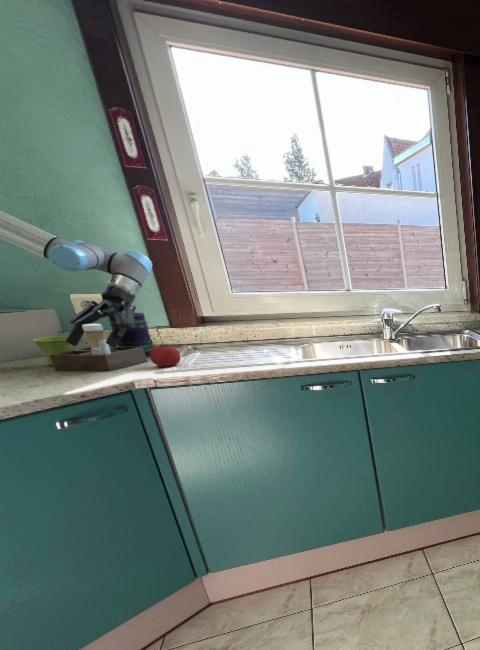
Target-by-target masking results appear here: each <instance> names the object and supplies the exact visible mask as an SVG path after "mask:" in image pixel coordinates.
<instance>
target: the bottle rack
mask: <svg viewBox="0 0 480 650" xmlns="http://www.w3.org/2000/svg"><path fill="white" fill-rule="evenodd" d="M108 346H109V349H110V352H111V353H110V354H105V355H93V354H92V351H91V348H90V346H87V347H81V348H76V349H74V350H72V351H67V352H62V353H57V354H52V355H50V357H51V360H52V362H53V365H54V366H53V365H52V366H53V368H54V371H55V372H112V371H115V370H119V369H123V368H126V367H131V366H134V365H138V364H142V363H145V362H148V357H146V355H145V352H144V349H143V347H130V346H118V345H117V346H116V348H113V347H112V346H110V345H108Z"/></svg>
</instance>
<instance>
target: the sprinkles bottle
mask: <svg viewBox="0 0 480 650" xmlns="http://www.w3.org/2000/svg"><path fill="white" fill-rule="evenodd" d="M82 327H83V330H84V331H85V332H84V334H85V336H86V339H87V342H88V345H89V347H90V348H91V351H92V354H93V355H105V354H110V353H111V352H110V349H109V346H110V345H108V344H107V343H105V342H106V341H107V338H106V335H105V333H104V326H103V324H101V323H92V324H84V325H83V324H82Z"/></svg>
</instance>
